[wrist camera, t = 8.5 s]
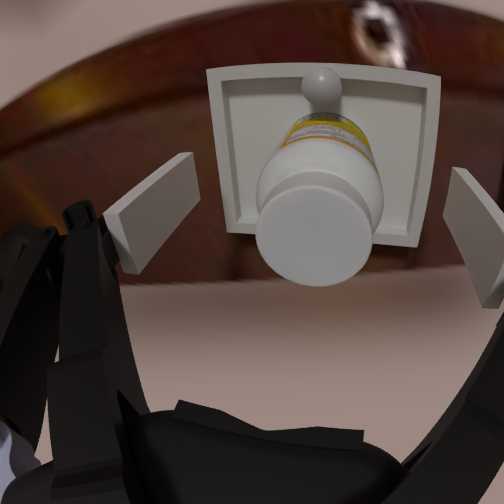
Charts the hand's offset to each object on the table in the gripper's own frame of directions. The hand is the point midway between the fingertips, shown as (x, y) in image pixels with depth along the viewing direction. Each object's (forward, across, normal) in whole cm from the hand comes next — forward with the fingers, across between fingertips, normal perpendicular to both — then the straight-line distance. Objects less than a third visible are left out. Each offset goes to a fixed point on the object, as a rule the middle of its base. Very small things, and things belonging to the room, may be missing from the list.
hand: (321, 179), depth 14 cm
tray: (+5, 0, 0) cm, 5 cm away
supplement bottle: (+4, 0, 0) cm, 4 cm away
